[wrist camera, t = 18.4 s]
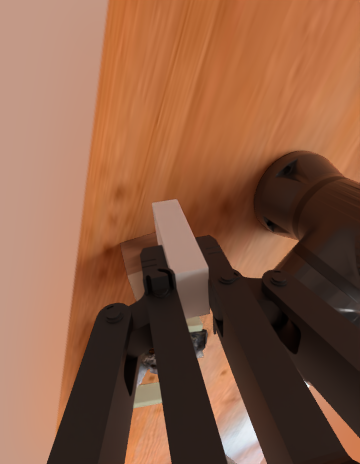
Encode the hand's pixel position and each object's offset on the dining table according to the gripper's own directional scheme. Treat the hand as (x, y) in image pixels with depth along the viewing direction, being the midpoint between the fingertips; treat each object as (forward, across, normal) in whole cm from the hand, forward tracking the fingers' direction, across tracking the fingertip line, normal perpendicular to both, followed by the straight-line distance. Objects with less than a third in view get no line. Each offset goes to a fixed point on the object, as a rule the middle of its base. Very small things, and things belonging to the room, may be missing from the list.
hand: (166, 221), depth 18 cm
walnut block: (+26, +2, +20) cm, 33 cm away
